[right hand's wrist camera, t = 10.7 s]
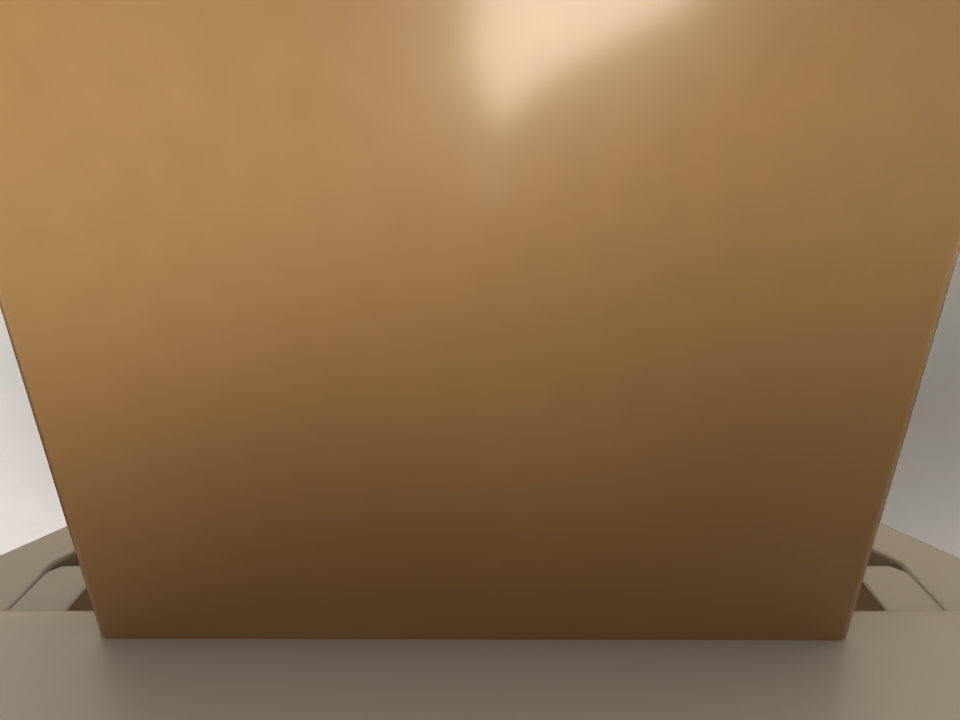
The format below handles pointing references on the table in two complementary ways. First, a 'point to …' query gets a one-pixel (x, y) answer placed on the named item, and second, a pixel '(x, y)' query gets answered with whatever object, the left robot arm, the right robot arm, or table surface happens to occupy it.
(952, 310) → the table surface
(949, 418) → the table surface
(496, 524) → the box
